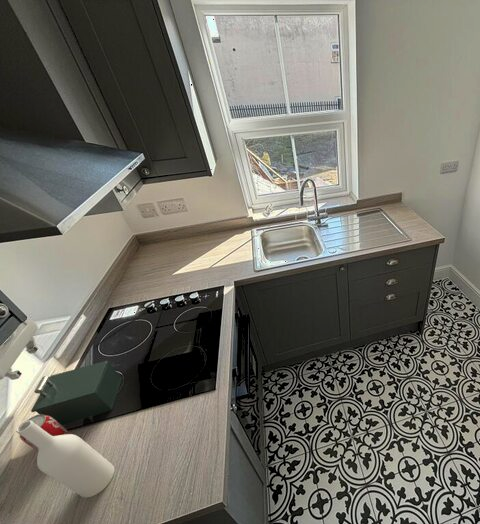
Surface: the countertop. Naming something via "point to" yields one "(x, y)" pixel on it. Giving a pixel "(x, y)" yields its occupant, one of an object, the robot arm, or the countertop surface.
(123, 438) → the countertop surface
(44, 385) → the bin lid
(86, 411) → the bin
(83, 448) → the bottle
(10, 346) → the robot arm
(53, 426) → the soda can
